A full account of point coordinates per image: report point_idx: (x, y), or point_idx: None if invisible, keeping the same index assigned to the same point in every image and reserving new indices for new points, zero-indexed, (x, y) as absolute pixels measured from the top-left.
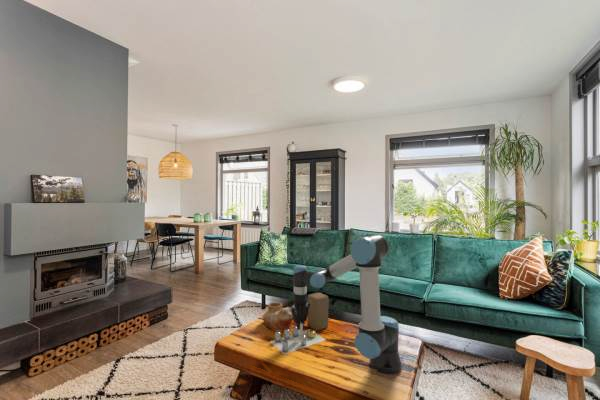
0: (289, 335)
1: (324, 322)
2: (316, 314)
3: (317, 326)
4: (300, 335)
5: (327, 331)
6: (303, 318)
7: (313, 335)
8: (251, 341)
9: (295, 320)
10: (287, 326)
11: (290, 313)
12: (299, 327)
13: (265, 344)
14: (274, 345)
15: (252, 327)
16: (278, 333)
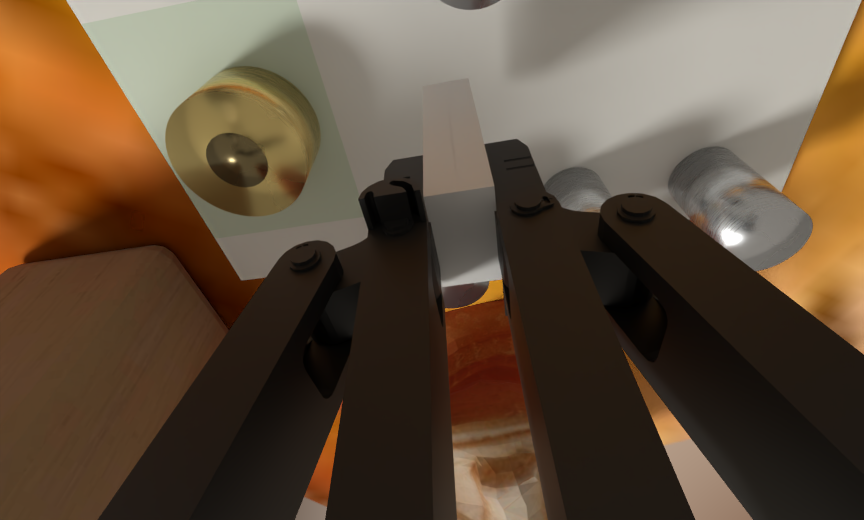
0: (559, 201)
1: (9, 302)
2: (39, 414)
3: (127, 272)
4: (468, 81)
5: (20, 189)
6: (384, 299)
7: (224, 79)
8: (855, 281)
9: (735, 260)
10: (481, 353)
11: (498, 506)
12: (496, 163)
13: (813, 190)
14: (817, 100)
15: (667, 425)
16: (785, 217)
